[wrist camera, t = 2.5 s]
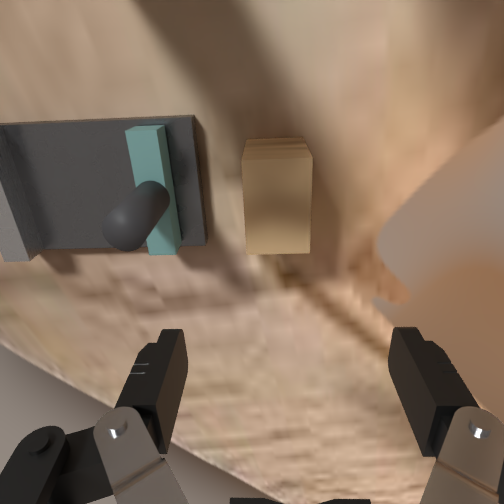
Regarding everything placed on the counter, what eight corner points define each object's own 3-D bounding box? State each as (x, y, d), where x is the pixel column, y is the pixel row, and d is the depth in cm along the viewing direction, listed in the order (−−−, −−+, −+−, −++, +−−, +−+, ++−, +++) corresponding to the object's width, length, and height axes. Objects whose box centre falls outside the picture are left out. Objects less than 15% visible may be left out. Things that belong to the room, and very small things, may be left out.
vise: (-15, 123, 33) (-49, 131, 29) (194, 114, 32) (184, 121, 28) (28, 243, 38) (4, 261, 35) (207, 238, 37) (201, 257, 34)
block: (246, 139, 33) (241, 160, 26) (302, 136, 32) (312, 157, 25) (250, 216, 36) (246, 254, 29) (301, 215, 36) (309, 253, 29)
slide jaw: (132, 126, 31) (81, 150, 22) (167, 124, 30) (129, 148, 22) (154, 243, 36) (119, 299, 27) (184, 242, 36) (158, 298, 27)
